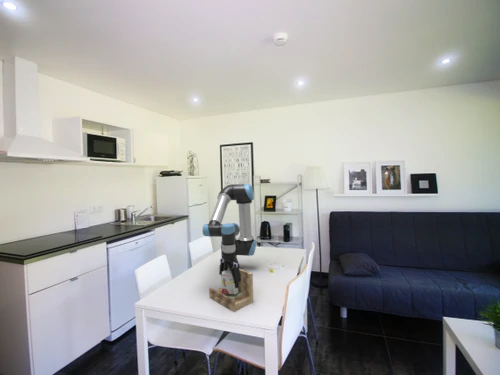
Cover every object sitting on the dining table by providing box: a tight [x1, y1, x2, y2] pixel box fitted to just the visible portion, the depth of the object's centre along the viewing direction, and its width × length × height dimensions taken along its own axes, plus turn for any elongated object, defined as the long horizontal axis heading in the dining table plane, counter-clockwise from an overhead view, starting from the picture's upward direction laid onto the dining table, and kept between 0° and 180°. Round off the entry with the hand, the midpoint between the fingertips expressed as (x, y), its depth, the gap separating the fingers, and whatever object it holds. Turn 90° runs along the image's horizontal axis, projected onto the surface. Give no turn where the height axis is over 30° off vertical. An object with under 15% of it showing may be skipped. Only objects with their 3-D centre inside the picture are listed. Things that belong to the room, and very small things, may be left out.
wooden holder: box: [208, 268, 254, 312], centre depth 141 cm, size 22×14×16 cm, turn 43°
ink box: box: [221, 270, 237, 294], centre depth 141 cm, size 9×5×12 cm, turn 79°
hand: (230, 290), depth 141 cm, fingers closed on ink box, 9 cm apart
